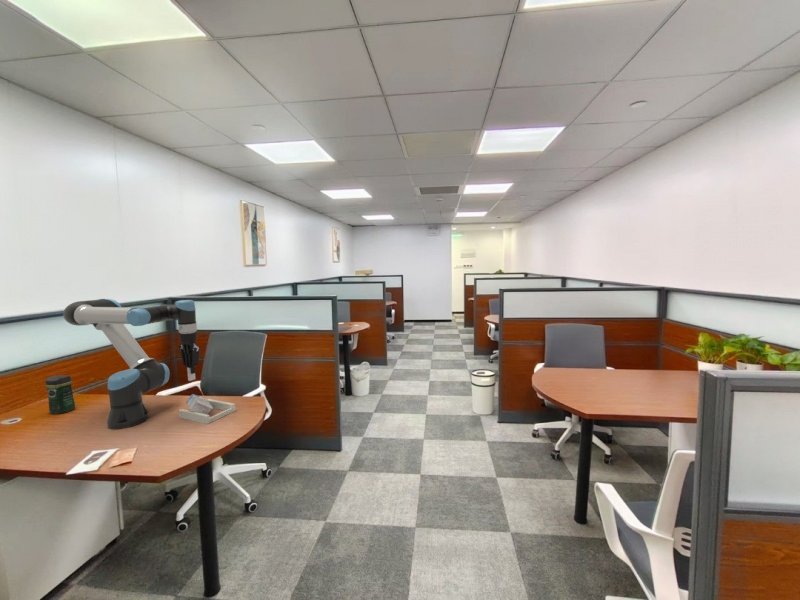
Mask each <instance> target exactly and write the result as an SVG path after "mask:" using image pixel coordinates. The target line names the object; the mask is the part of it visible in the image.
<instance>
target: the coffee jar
mask: <svg viewBox="0 0 800 600" xmlns="http://www.w3.org/2000/svg"><path fill="white" fill-rule="evenodd" d="M72 385H73V380H72V377H71V375H52V376H49V377H47V378H46V380H45V387H46V390H47V398H48V410H49V413H50V414H56V415H57V414H58V415H59V414H64V413H69V412H71V411H73V410H75V409H76V404H75V403H76V402H75V399H74V395H73V394H74V393H73V388H72V387H73V386H72Z"/></svg>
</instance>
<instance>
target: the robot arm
mask: <svg viewBox="0 0 800 600" xmlns="http://www.w3.org/2000/svg"><path fill="white" fill-rule="evenodd" d="M196 313H197V312H196V303H195V301H194V300H192V299H185V300H184V299H181V300H177V301H176V304H166V303H165V304H157V305H155V306H147V307H125V306H123V307H122V305H121V304H120V303H119V302H118V301H116V300H115V299H112V298H99V299H93V300H80V301H79V300H78V301H74V302H72V303H70V304H68V305H67V306H66V307H65V308H64V311H63V313H62V314H63V315H62V316H63V318H64V320H65V321H66V322H67V323H69V324H70V325H73V326H78V327H79V326H89V325H92V326H93V327H94V329H95V330H97V331H102V333H104V335H105V337H107V339H108V341H109V342H110V343H111V344H112V345H113V347H114V349H115V350H116V351H117V353H118V354H119V355H120V356H121V357H122V359H123V360H124V361H125V363H126V364H127V365H128V367H129V369H125V370H120V371H118V372H115V373H113V374H111V375H110V376H109V377H108V378H107V390H108V397H109V406H110V411H109V413H108V417H107V421H106V424H107V428H108V429H111V430H119V429H125V428H129V427H134V426H136V425H139V424H141V423H144V422H145V421H147V420H148V419H149V418H150V415H149V410H148V409H147V408H146V406H145V403H144V401H143V394H146V393H148V392H150V391H153V390H156V389H159V388H161V387H162V386H164V385H165V384H167V383H168V382H169V379H170V374H171V373H170V369H169V367H168V365H167V364H165V363H164V362H163V363H162V362H157V360H156V359H155V358H154V357H149V356H148V354H147V353H146V351H144V349H143V348H142V346H140V344H139V342H137V340H136V338H135V337H134V336H133V334H131V332H130V330H129V329H128V328H127V327H126V326H125V325H131V326H132V327H142V326H145V325H149V324H155V323H161V322H166V321H177V326H178V327H177V328H178V333H179V334H178V341H179V342H180V343H181V345H178V350H179V352H180V357H181V360H182V365H183V366H185V367H186V374H187V381H188V382H191V381H195V380H196V366H199V355H200V351H201V346H197V342H196V341H197V340H198V332H197V331H198V328H197V318H196Z"/></svg>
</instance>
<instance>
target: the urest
mask: <svg viewBox="0 0 800 600" xmlns="http://www.w3.org/2000/svg"><path fill="white" fill-rule="evenodd" d="M206 400H208V401H209V403H210V404H211V406H212V408H213V409H217V410H221V412H219V413H216V414H214V415H212V416H210V414H208V415H206V414H202V413H197V412H194V411H192V410H188V409H184V408H182V409H179V411H178V413H179V418H180V419H185V420H188V421H193V422H197V423H202V424H205V425H207V424H210V423H212V422H214V421H216V420H219V419H221V418H223V417H226V416H227V415H229V414H232V413H233V412H235V411H236V405H235V403H232V402H226V401H221V400H216V399H211V398H207V399H206Z"/></svg>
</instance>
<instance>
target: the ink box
mask: <svg viewBox="0 0 800 600" xmlns="http://www.w3.org/2000/svg"><path fill="white" fill-rule="evenodd" d="M186 404H187V406H188V408H189V411H193V412H197V413H202V414H206V415H209V413H210V412H211V411H212V410H214V408H212V406H211V404H210V403H209V401H208V400H207V399H206V398H203V397H201V396H199V395H197V394H194V393H191V395H190V396H189V398H188V400H187V401H186Z"/></svg>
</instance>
